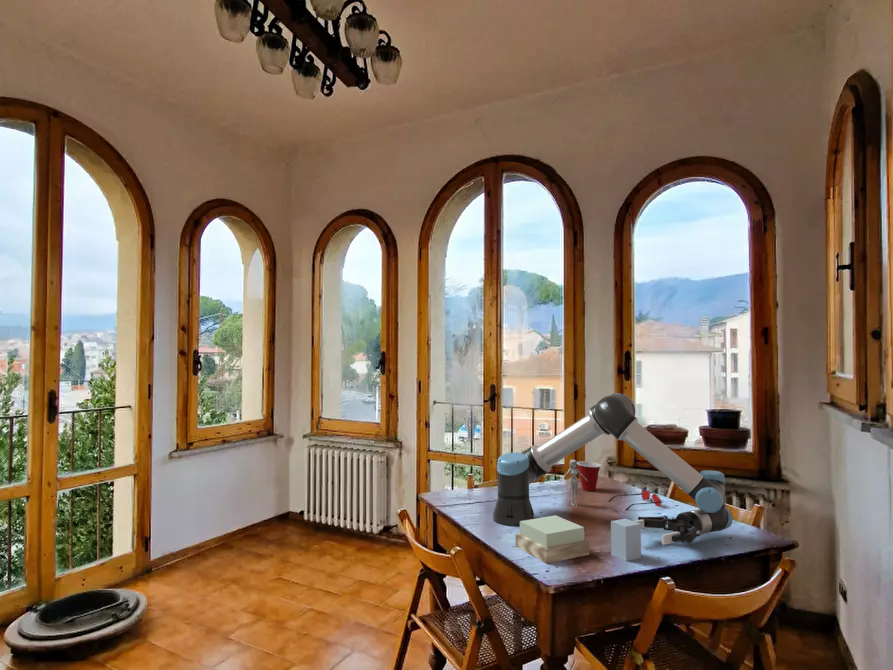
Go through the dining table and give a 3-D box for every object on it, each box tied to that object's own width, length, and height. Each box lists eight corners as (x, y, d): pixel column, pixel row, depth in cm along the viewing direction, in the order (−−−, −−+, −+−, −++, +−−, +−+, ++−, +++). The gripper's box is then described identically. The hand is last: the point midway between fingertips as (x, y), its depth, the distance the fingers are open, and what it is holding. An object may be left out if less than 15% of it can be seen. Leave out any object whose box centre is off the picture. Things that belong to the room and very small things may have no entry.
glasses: (663, 508, 214) (663, 496, 214) (625, 511, 210) (625, 498, 211) (643, 499, 227) (643, 487, 228) (607, 502, 224) (607, 490, 224)
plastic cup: (602, 493, 237) (602, 465, 237) (577, 492, 239) (577, 464, 239) (600, 487, 247) (600, 461, 248) (576, 486, 250) (576, 460, 250)
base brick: (515, 546, 171) (515, 533, 171) (556, 538, 178) (556, 526, 178) (546, 563, 157) (546, 549, 157) (589, 554, 164) (589, 541, 164)
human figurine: (561, 506, 217) (560, 461, 217) (558, 503, 220) (557, 459, 221) (589, 505, 218) (589, 460, 219) (586, 502, 222) (585, 458, 223)
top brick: (519, 534, 171) (519, 521, 171) (555, 527, 177) (555, 515, 177) (546, 548, 158) (546, 534, 158) (584, 540, 164) (584, 527, 165)
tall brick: (611, 554, 164) (610, 521, 164) (626, 551, 166) (625, 518, 167) (626, 561, 158) (625, 526, 159) (641, 557, 161) (640, 523, 161)
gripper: (728, 547, 164) (679, 559, 154) (662, 524, 186) (615, 533, 177) (727, 522, 164) (678, 532, 155) (661, 502, 186) (615, 510, 177)
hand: (644, 533), depth 166 cm, fingers open, 13 cm apart
